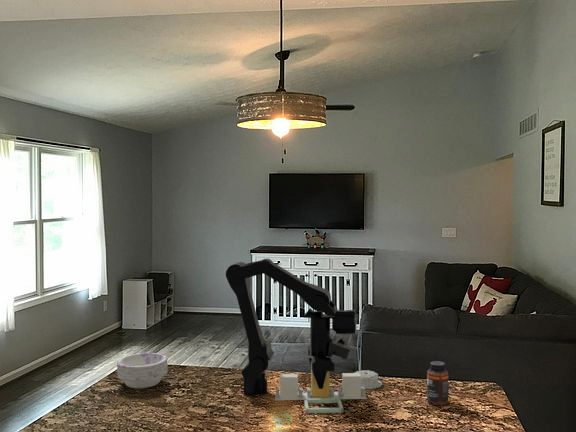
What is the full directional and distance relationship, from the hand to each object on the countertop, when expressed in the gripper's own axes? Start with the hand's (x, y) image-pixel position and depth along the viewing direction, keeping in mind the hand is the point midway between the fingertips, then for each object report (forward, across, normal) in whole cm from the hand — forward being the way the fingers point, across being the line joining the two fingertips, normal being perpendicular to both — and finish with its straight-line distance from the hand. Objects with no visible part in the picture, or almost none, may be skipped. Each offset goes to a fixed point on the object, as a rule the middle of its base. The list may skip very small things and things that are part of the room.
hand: (320, 386), depth 170 cm
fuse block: (+4, 0, 0) cm, 4 cm away
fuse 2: (+3, 0, -9) cm, 9 cm away
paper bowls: (+4, +16, +54) cm, 56 cm away
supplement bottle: (+4, -4, -33) cm, 33 cm away
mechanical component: (+4, +10, -15) cm, 19 cm away
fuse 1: (+3, 0, +9) cm, 9 cm away
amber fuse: (+2, 0, 0) cm, 2 cm away
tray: (+4, -9, 0) cm, 10 cm away
